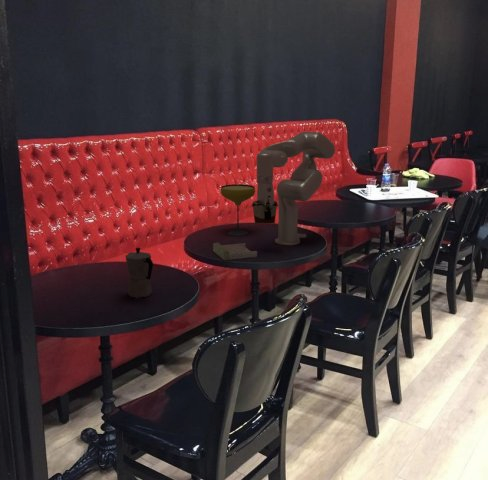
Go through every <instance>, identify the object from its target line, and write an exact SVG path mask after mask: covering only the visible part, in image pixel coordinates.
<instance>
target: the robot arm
mask: <svg viewBox="0 0 488 480" xmlns="http://www.w3.org/2000/svg"><path fill="white" fill-rule="evenodd" d="M301 153H302V161H301V163H300V164H299V165H298V166H297V167H296V168H295V169H294V170H293V172H292V173H291V175H290V179H282V180H280V181H278V184H277V185H276V193H277V199H278V200H277V202H278V225H277V226H278V229H277V231H278V232H277V238H274V243H275V244H277V245H281V246H296V245H299V244H300V243H301V238H302V239H305V238H307V234H306V233H298V218H299V215H298V213H299V208H298V203H297V202H296V201H299V202H306V201H309V200H310V199H311V198H312V196H313V195H314V194H315V193H316V192H317V191H318V189H319V188H320V187H321V185H322V184H323V183H322V182H323V174H322V172H321V171H320V170H318V168H317V167H318V166H317V163H316V161H315V159H325V160H329V159H332V158H333V157H334V155H335V153H336V148H335V145H334V143H333V142H332V140H330V139H329V138H328V137H327V136H326V135H324V134H323V133H322V132H317V131H301V132H299V133H297V134H296V135H294V136H292V137H291V138H289V139H287V140H283V141H279V142H276V143H273V144H271V145H268V146H265V147H264V148H262V149H261V150H260V151H259V152H258V153H257V154H256V183H257V187H256V188H257V191H256V193H257V194H256V198H257V199H256V201H258V202H259V203H261V204H263V205H264V206H265V211H264V219H265V220H270V219H271V211H272V206H273V204H274V201H275V190H274V168H282V167H284V166H286V165H287V163H288V158H294V157H297V156H299V155H300V154H301ZM266 203H269V204H266ZM267 206H268V207H267Z"/></svg>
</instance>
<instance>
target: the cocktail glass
mask: <svg viewBox="0 0 488 480" xmlns="http://www.w3.org/2000/svg"><path fill="white" fill-rule="evenodd" d="M220 194H221V196H222V197H224V199H227V200H229V201H231V203H234V205H235V206H236V207H237V209H236V211H237V217H236V218H237V221H236V224H237V225H236V230H235V229H234V230H230V231H228V232H227V234H228V235H230V236H236V237H239V236H240V237H241V236H246V235H248V234H249V232H248V231H246V230H241V229H240V222H239V221H240V220H239V210H240V209H239V206H241V205H242V203H244V202H246V201H247V200H249V199H251V198H253V197H254V196H255V194H256V188H255V185H254V186H253V185H251V184H240V183H239V184H236V183H235V184H234V183H233V184H225V185H222V186H221V187H220Z"/></svg>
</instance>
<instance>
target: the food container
mask: <svg viewBox="0 0 488 480" xmlns="http://www.w3.org/2000/svg"><path fill="white" fill-rule="evenodd" d="M266 204H269V203H266ZM267 207H268V206H267ZM277 207H279V203H278V201H276V200H274V204H273V206H272V211H271V219H270V220H265V219H264V211H265V206H264V205H263V204H261V203H259V202H258V201H257V200H255V201H253V202H251V208H252V211H253V220H254V224H262V225H263V224H271V225H272V224H276V216H277Z"/></svg>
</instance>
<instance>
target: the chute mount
mask: <svg viewBox="0 0 488 480" xmlns="http://www.w3.org/2000/svg"><path fill="white" fill-rule="evenodd" d="M212 244H213V245H212V246H213V249H212V250H213V253H215V254H216V255H217V256H218V257H219V258H220V259H222V260H223V261H229V260H241V259H250V258H257V257H258V251H257V250H254V251H253V250H252V251H251V250H249V248H247V247H246V246H247V245H246V243H245V242H243V243H234V244H231V243H230V244H220V242H214V243H212Z"/></svg>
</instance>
